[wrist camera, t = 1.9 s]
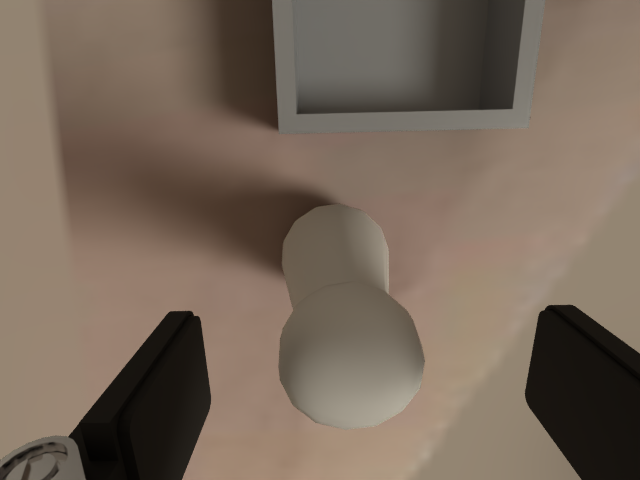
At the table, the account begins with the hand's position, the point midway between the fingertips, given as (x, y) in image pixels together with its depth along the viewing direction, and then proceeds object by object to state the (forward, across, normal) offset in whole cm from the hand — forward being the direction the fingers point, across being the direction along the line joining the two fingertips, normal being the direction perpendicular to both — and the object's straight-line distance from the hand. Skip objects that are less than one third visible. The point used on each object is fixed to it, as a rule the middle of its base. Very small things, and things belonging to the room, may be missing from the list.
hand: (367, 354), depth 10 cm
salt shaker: (+13, +1, +1) cm, 13 cm away
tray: (+13, -2, -11) cm, 17 cm away
